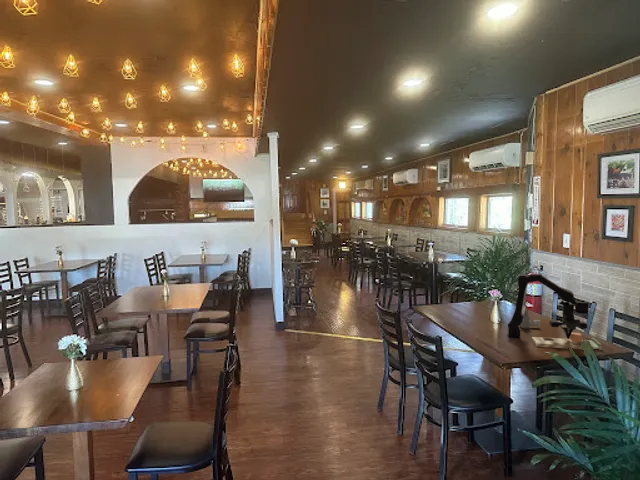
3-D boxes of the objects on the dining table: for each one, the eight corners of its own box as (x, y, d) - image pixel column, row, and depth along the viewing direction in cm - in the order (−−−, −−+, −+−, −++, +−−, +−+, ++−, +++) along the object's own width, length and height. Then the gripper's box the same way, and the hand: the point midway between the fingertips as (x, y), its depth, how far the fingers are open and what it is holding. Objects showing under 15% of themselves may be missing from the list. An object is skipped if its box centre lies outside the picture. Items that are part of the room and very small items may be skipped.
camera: (541, 329, 281) (541, 307, 280) (522, 329, 284) (522, 307, 283) (537, 326, 290) (537, 304, 289) (519, 325, 292) (519, 304, 291)
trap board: (536, 346, 247) (536, 340, 247) (531, 340, 260) (531, 334, 259) (601, 350, 238) (601, 344, 238) (593, 343, 251) (593, 337, 250)
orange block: (572, 341, 249) (572, 334, 249) (569, 338, 254) (569, 332, 253) (581, 341, 248) (582, 335, 247) (579, 339, 252) (579, 332, 252)
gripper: (554, 315, 245) (553, 341, 246) (590, 316, 240) (590, 343, 241) (549, 310, 256) (549, 336, 257) (584, 311, 251) (584, 338, 252)
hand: (567, 338), depth 251 cm, fingers closed
